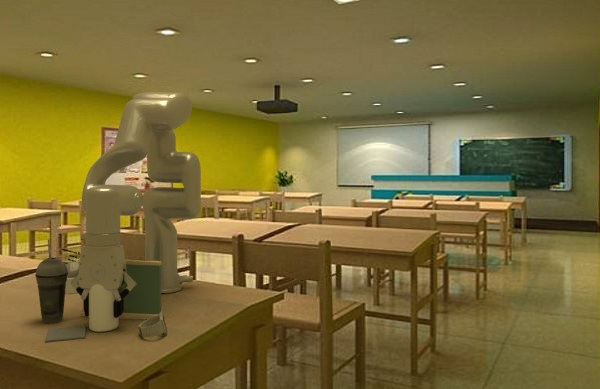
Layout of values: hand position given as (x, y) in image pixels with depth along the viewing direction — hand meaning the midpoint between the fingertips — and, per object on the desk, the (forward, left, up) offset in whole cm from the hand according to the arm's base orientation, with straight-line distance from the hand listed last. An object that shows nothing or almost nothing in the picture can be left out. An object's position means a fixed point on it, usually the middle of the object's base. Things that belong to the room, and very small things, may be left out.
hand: (103, 314), depth 118 cm
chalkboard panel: (-5, -9, -3) cm, 10 cm away
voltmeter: (+7, -50, -4) cm, 51 cm away
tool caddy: (+8, -50, -3) cm, 51 cm away
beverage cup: (+12, -10, -3) cm, 16 cm away
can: (0, 0, -3) cm, 3 cm away
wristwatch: (-10, +8, -4) cm, 13 cm away
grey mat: (+8, +2, -3) cm, 9 cm away
